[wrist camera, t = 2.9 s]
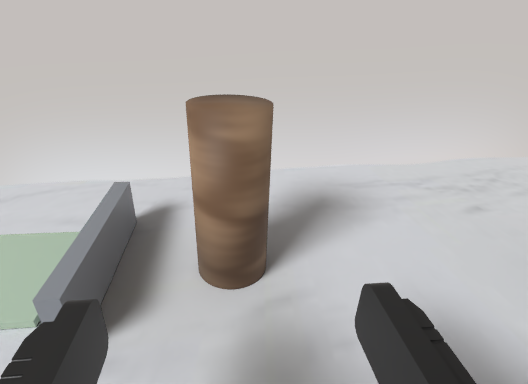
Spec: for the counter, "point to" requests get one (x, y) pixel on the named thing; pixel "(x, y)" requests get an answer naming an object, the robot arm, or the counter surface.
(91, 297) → the low wall
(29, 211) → the counter surface
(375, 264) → the counter surface
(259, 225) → the walnut canister
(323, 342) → the counter surface
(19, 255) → the pad
